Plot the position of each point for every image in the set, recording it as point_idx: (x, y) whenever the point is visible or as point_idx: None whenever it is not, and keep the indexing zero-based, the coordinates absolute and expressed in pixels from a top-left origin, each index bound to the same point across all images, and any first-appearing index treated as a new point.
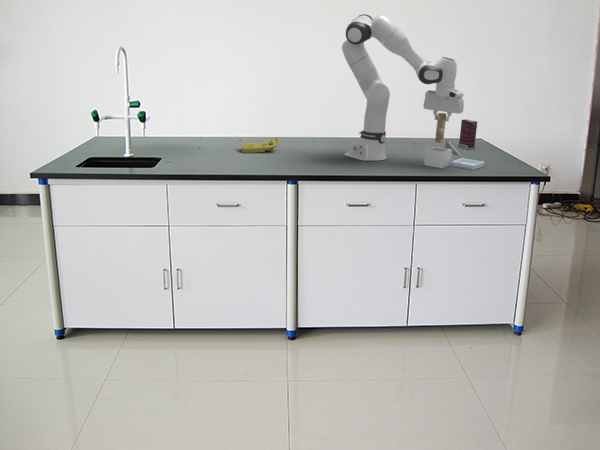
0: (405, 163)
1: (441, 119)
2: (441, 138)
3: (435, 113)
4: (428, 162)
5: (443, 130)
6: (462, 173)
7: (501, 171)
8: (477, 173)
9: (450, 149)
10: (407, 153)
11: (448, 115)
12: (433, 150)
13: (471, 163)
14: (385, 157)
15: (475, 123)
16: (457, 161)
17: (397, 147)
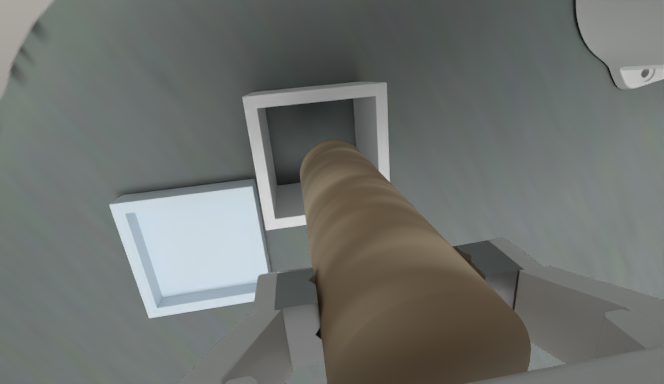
0: (450, 26)
1: (355, 239)
2: (305, 167)
3: (588, 319)
4: (337, 84)
5: (305, 208)
6: (97, 87)
7: (35, 294)
8: (56, 159)
9: (277, 228)
10: (544, 226)
11: (212, 362)
12: (327, 99)
13: (212, 285)
14: (585, 13)
15: None
16: (250, 233)
17: (624, 280)
